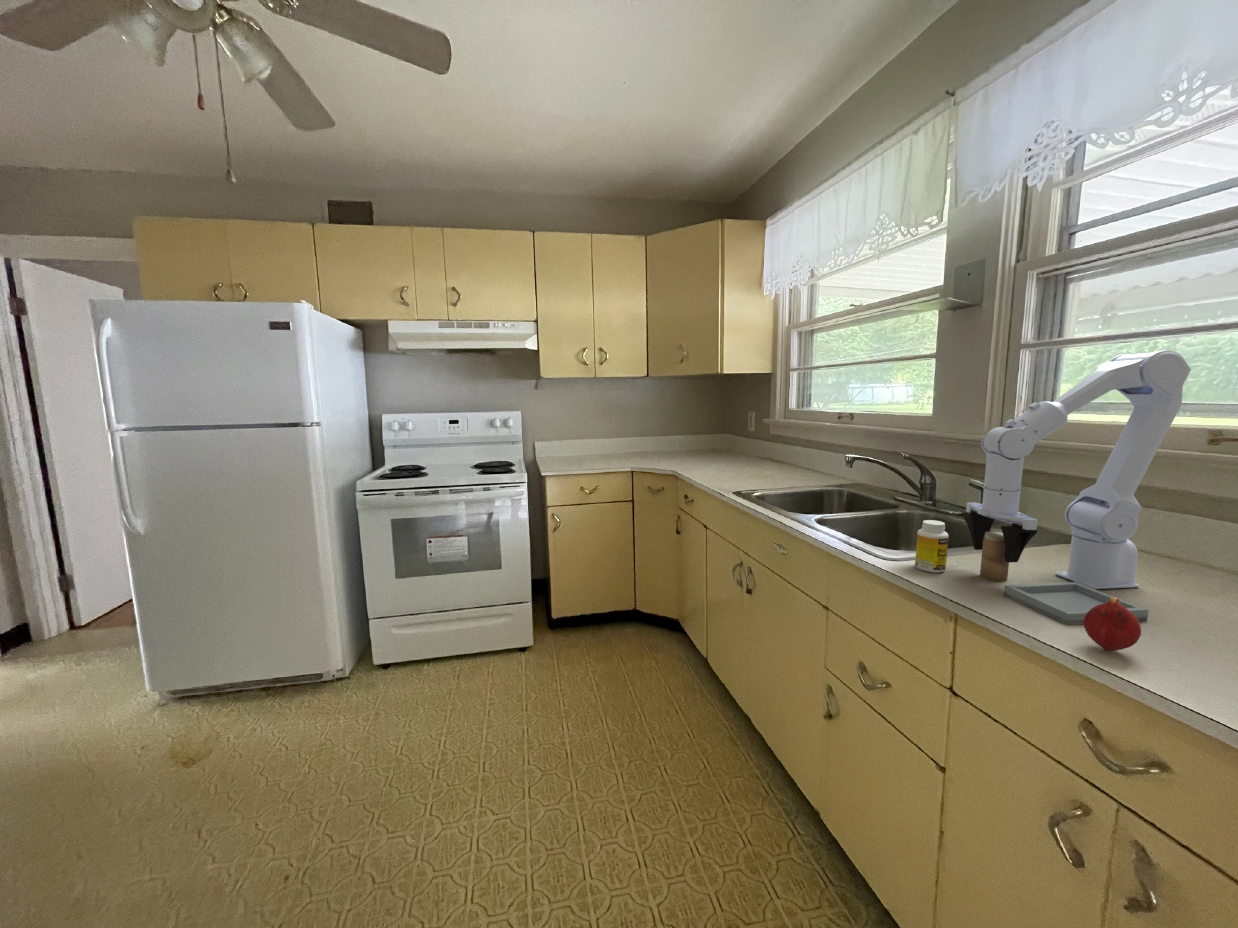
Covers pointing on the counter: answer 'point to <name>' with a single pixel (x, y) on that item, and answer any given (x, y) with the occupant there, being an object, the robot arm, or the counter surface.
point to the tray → (1066, 600)
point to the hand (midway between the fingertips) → (995, 555)
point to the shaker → (994, 558)
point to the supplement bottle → (932, 547)
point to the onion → (1112, 626)
